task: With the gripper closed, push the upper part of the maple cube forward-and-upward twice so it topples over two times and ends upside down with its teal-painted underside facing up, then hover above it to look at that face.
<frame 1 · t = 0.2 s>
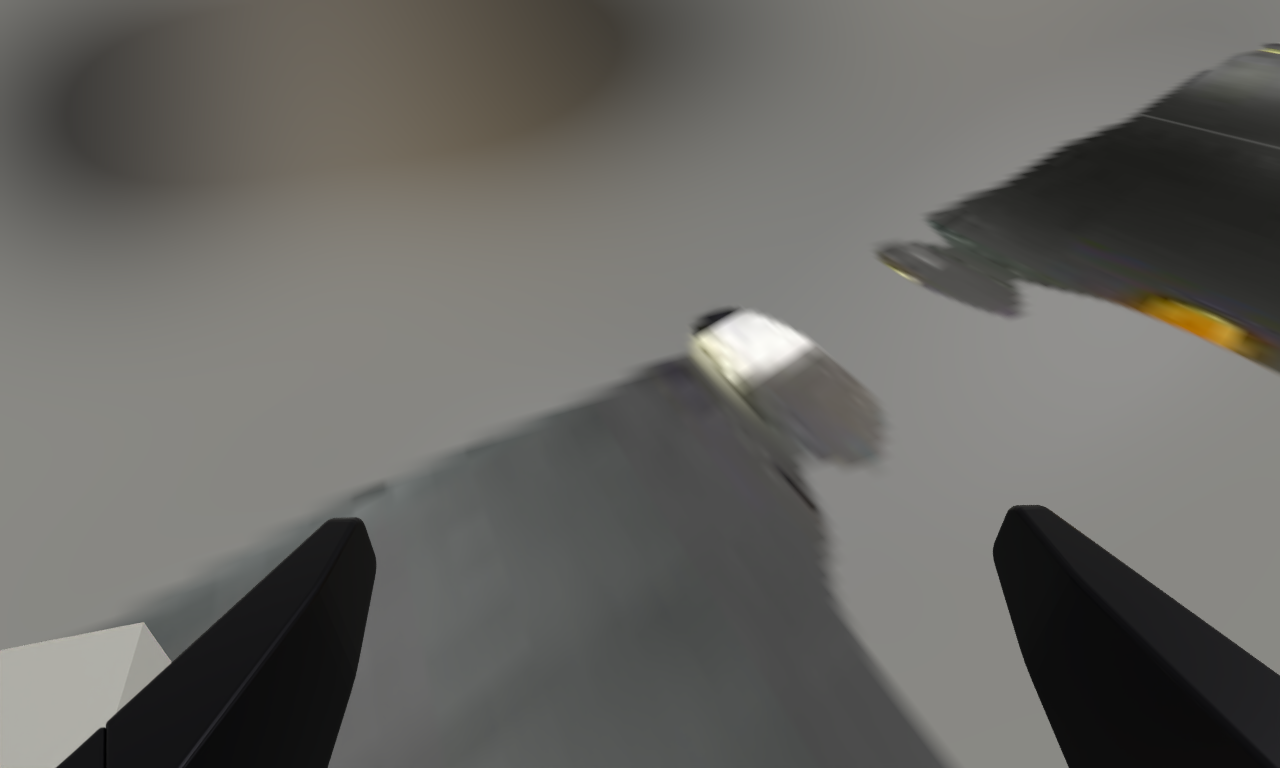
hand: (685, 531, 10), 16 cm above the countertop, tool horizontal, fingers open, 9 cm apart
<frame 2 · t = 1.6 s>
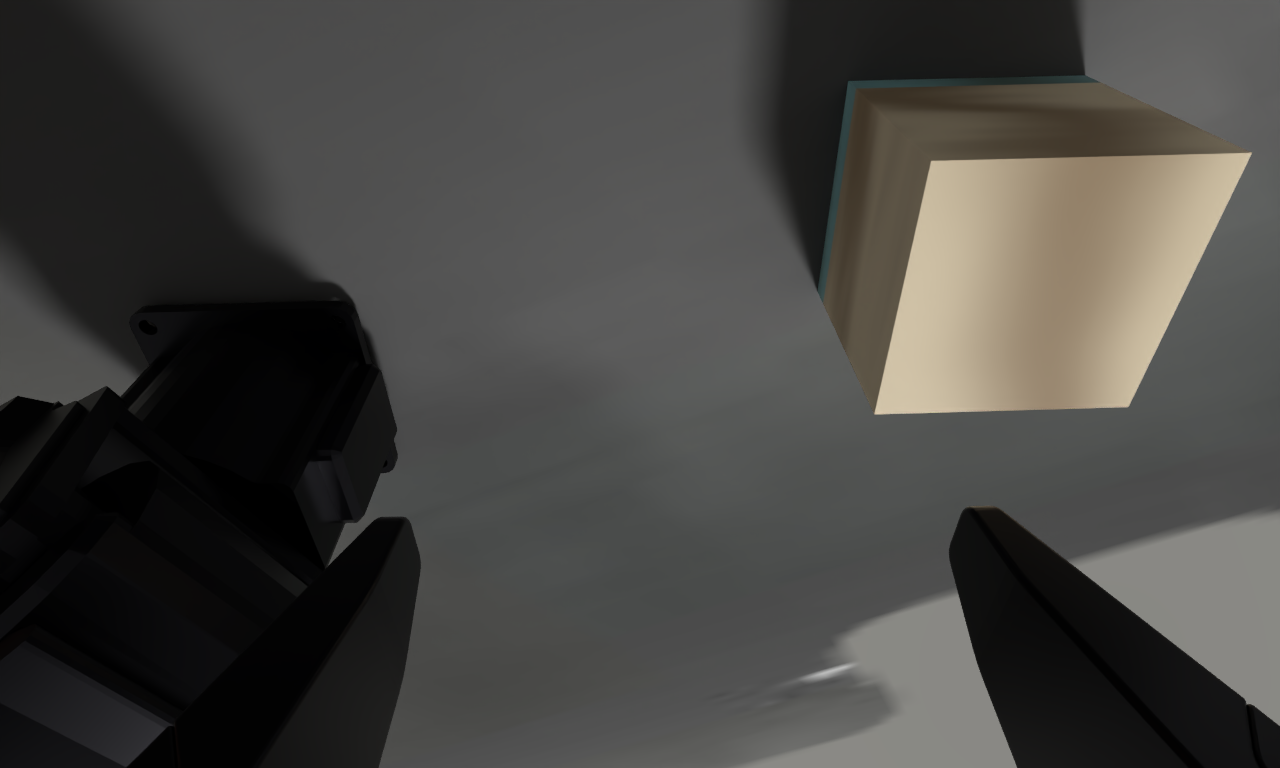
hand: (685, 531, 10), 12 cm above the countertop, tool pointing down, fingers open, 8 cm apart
maple cube: (938, 191, 20), on the countertop
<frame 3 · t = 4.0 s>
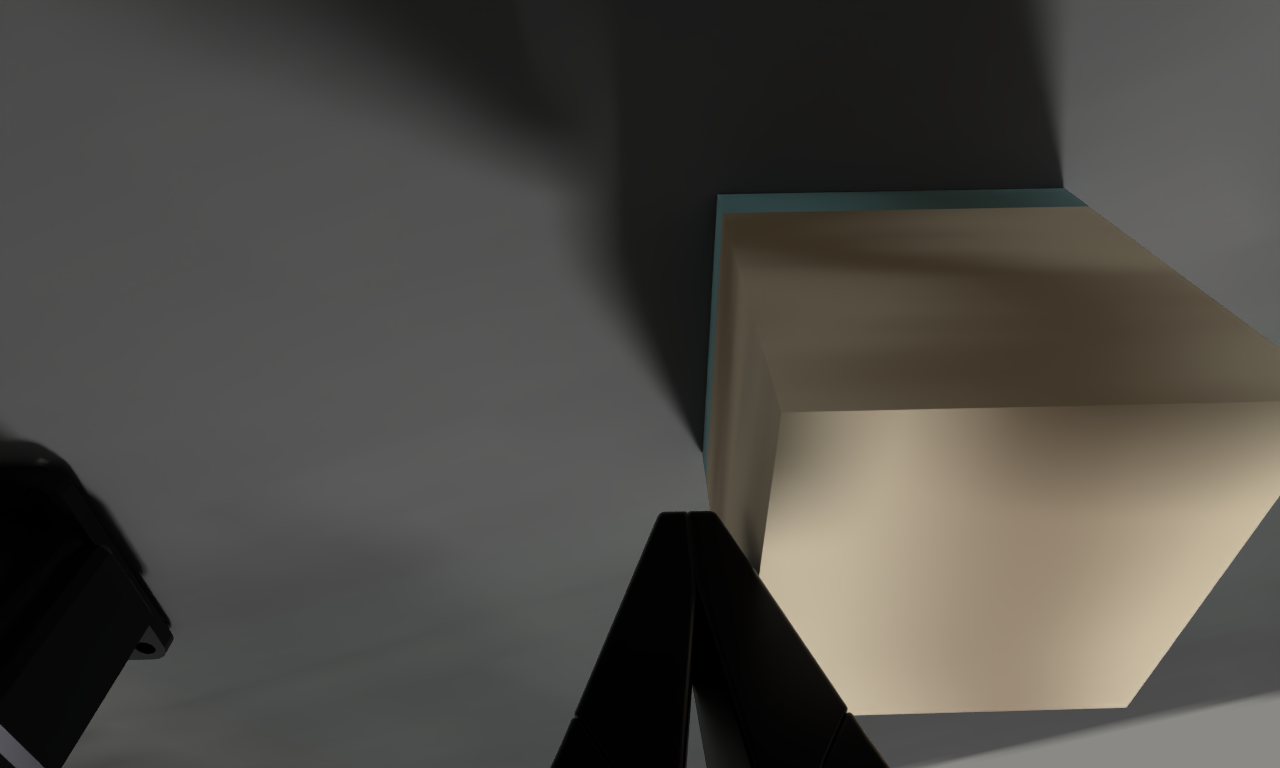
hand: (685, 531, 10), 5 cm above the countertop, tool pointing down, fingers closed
maple cube: (861, 338, 14), on the countertop, touching gripper
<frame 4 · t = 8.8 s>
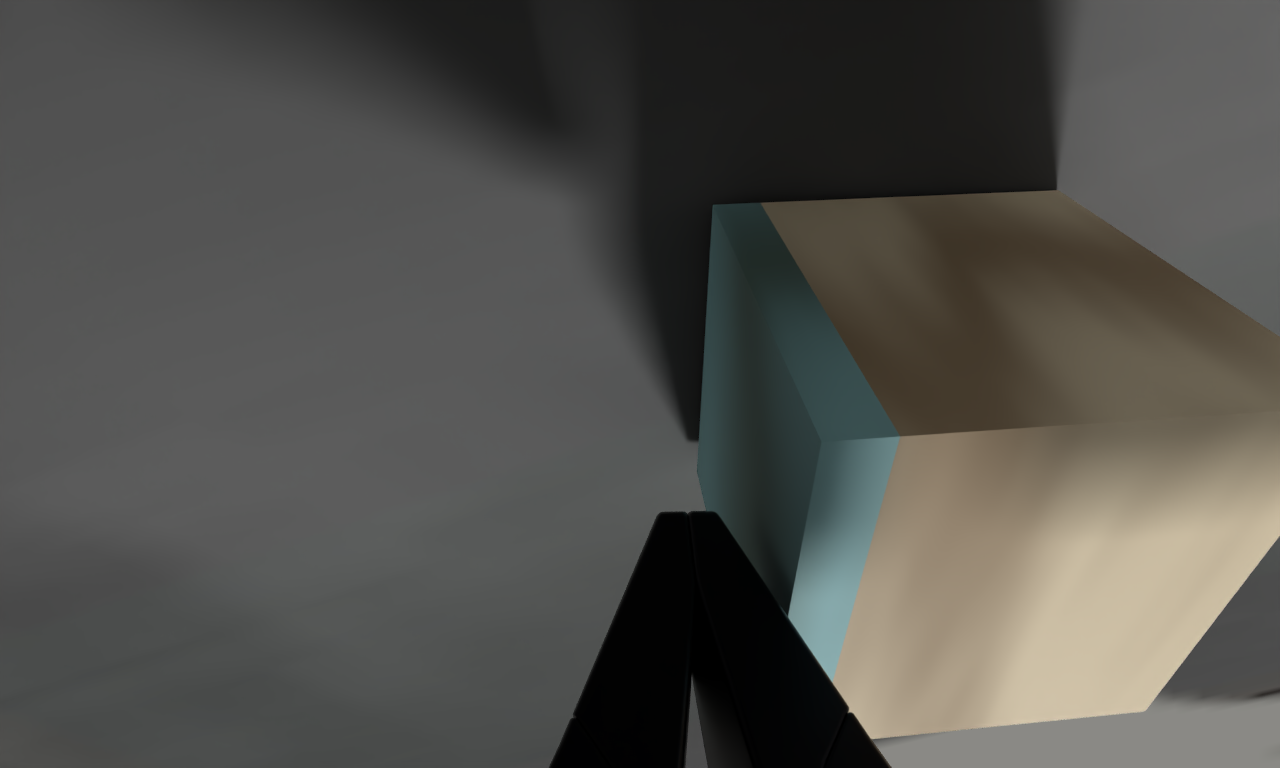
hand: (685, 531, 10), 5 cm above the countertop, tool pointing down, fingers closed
maple cube: (736, 462, 11), point 3 cm above the countertop, tilted 95°, touching gripper
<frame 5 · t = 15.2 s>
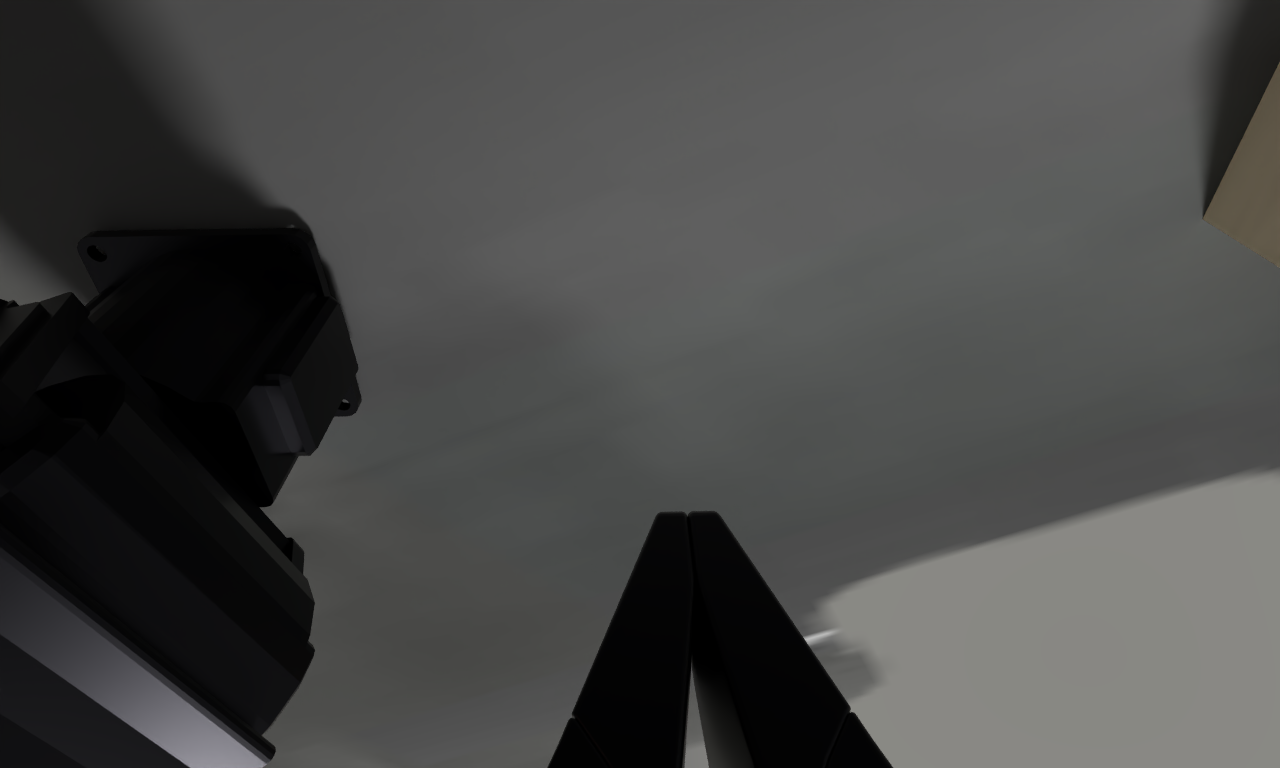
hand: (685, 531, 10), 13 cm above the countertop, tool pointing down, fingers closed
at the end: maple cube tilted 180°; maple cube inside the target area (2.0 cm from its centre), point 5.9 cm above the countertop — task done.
